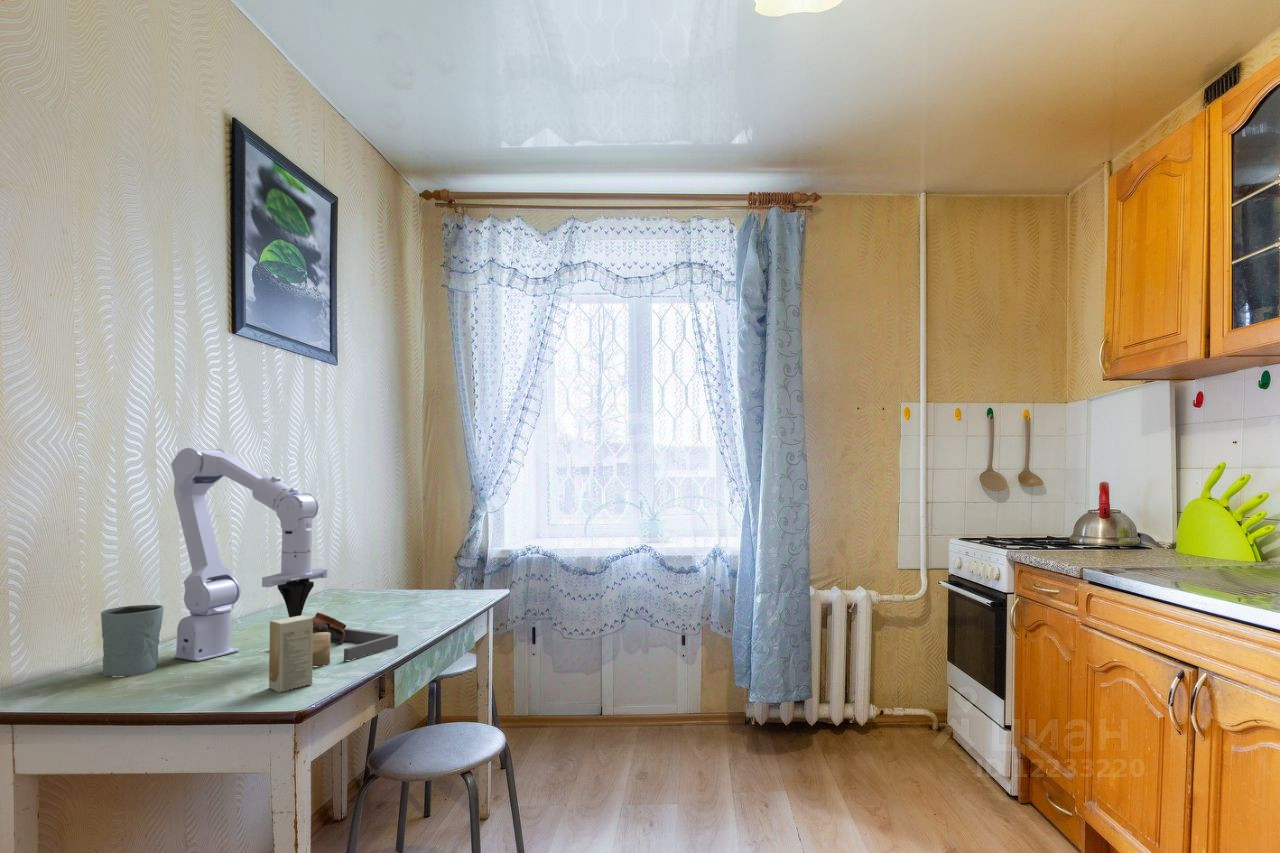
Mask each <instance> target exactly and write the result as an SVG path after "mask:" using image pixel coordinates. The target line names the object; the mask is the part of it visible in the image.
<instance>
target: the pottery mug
mask: <svg viewBox="0 0 1280 853" xmlns="http://www.w3.org/2000/svg"><path fill="white" fill-rule="evenodd" d="M311 618H313V633H319V632H327V631H328V629H330V630H331V631H335V632H336V633H337V634H340V635H341V636H342V638H341V640H339V643H341V644H340V645H342V644H343V643H344V638H345V632H344V629H345V628H347V624H346V623H344V622H341V621H340V620H338V619H336V618H335V617H334V618H333V617H331V616H330V615H327V614H324V613H322V612H316V613H315V616H313V617H311Z"/></svg>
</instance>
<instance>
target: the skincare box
mask: <svg viewBox="0 0 1280 853" xmlns="http://www.w3.org/2000/svg"><path fill="white" fill-rule="evenodd" d="M268 650H269V664H268V666H269V667H268V670H269V671H268V672H269V673H268V688H269V689H270V688H271V689H270V690H272V689H273V691H274V690H275V691H274V692H278V693H282V692H281V691H283V692H287V691H290V690H289V689H291V690H294V689H293V688H295V689H297V688H298V687H299V688H302V686H303V687H306V685H307V686H310V685H313V668H314V667H313V618H312V617H310V616H306V615H302V614H301V616H295V617H286V618H280V619H275V620H269V649H268ZM299 688H298V689H299ZM286 690H287V691H286Z"/></svg>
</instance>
